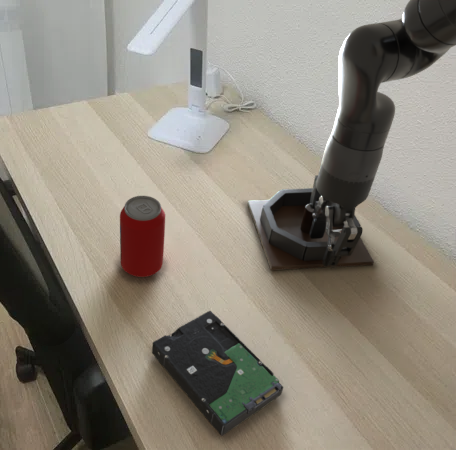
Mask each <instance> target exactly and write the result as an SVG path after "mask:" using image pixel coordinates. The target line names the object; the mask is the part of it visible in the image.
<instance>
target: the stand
mask: <svg viewBox="0 0 456 450" xmlns="http://www.w3.org/2000/svg"><path fill="white" fill-rule="evenodd" d="M268 200H269V199H252V200H247V202H246V203H247V204H246V205H247V207H248V210H249V212H250V216H251V219H252V221H253V224H254V227H255V230H256V232H257V235H258V238H259V241H260V243H261V246H262V249H263V252H264V254H265V257H266V260H267V263H268V266H269V269H270V271H278V270H280V271H281V270H297V269H300V270H301V269H317V268H319V269H320V268H325V267H324V266H323V264H322V261H323V260H309V261H304V260H300V259H298V258H296V257H294V256H292V255H291V254H289V253H287V252H285V251H283V250H281V249H279V248H277V247H275V246H273V245H271V244H270V243H269V242H268V240H267V237H266V234H265V232H264V229H263V226H262V224H261V221H260V217H261V212H262V207H263V205H264V204H265V203H266V202H267V201H268ZM313 211H314V209H311V208H310V204H307V205H300V206H282V207H281V208H280V209H279V210H278V211H276V212H275V213H274V214H273V217H274V219H275V222H276V224H277V227H278V228H279V229H281V230H283V231H285V232H287V233H289V234H291V235H293V236H295V237H297V238H299V239H301V240H303V241H305V242H327V241H328V235H327V234H326V233H324V236H323V237H322V238H319V239H311V238H310V235H309V233H310V230H311V226H312V223H313V217H312V213H313ZM340 229H343V226H342V227H332V230H340ZM325 231H326V230H325ZM337 240H338V237H335V239H334V241H337ZM374 262H375V261H374V259H373V257H372V255H371V254H370V252H369V250H368V249H367V247H366V244H365V242H364V241H363V239H362V238H361V237H360V239H359V241H358V243H357V245H356V247H355V249H354V251H353V253H352V254H351V256H342V258H340V259H339V262H338V264H337V266H335V267H336V268H337V267H358V266H359V267H361V266H374ZM335 267H334V268H335Z"/></svg>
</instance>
